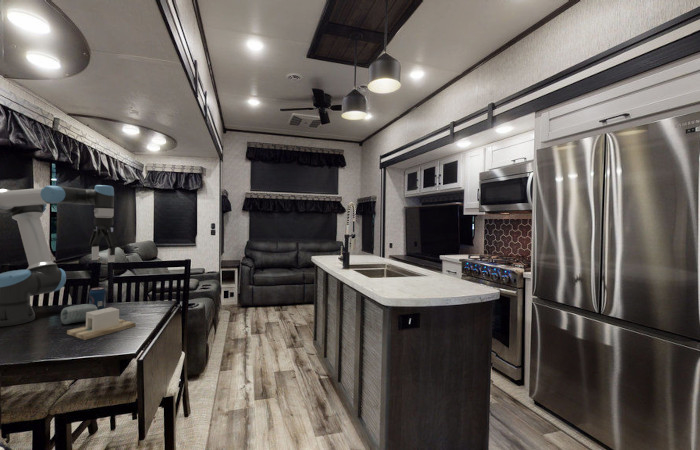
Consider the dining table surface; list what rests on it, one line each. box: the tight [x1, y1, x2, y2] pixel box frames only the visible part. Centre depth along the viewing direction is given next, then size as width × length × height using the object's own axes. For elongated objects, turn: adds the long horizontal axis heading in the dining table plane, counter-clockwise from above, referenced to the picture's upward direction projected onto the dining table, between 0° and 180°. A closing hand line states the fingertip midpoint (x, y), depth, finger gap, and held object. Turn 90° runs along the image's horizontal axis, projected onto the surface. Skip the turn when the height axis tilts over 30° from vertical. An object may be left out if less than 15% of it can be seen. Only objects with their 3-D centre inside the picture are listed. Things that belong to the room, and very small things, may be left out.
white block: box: [85, 306, 120, 331], centre depth 146 cm, size 6×10×7 cm, turn 154°
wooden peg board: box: [66, 318, 136, 341], centre depth 146 cm, size 14×20×6 cm
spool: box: [60, 303, 97, 325], centre depth 156 cm, size 14×10×10 cm
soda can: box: [88, 286, 107, 310], centre depth 174 cm, size 7×7×12 cm
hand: (103, 260), depth 160 cm, fingers open, 13 cm apart
